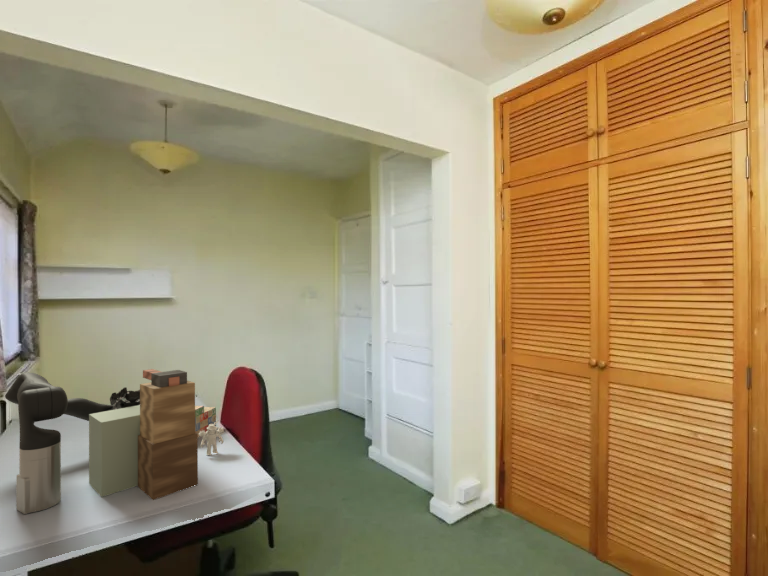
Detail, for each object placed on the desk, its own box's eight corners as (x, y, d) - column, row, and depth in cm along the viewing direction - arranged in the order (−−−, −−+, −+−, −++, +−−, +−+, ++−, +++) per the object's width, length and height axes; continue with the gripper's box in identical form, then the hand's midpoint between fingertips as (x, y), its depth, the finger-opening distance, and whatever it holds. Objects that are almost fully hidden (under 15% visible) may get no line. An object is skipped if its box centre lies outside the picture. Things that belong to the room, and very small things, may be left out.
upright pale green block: (89, 483, 134) (89, 414, 135) (168, 461, 152) (167, 399, 153) (101, 496, 125) (101, 422, 126) (184, 471, 143) (183, 406, 143)
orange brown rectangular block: (134, 378, 141) (134, 368, 141) (160, 375, 147) (160, 365, 147) (160, 387, 126) (160, 376, 126) (187, 383, 132) (187, 372, 132)
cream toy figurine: (222, 449, 163) (222, 418, 163) (225, 452, 160) (225, 420, 160) (197, 455, 157) (197, 423, 158) (200, 458, 154) (200, 425, 154)
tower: (137, 486, 131) (137, 384, 132) (180, 473, 141) (180, 377, 142) (153, 500, 123) (152, 389, 123) (197, 484, 132) (197, 382, 133)
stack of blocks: (204, 427, 193) (203, 400, 193) (216, 427, 192) (216, 400, 192) (172, 443, 172) (172, 412, 172) (186, 443, 171) (186, 413, 171)
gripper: (103, 398, 155) (114, 381, 146) (145, 391, 166) (158, 375, 156) (106, 418, 153) (118, 401, 143) (149, 409, 163) (162, 394, 154)
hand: (139, 387), depth 150 cm, fingers open, 8 cm apart
